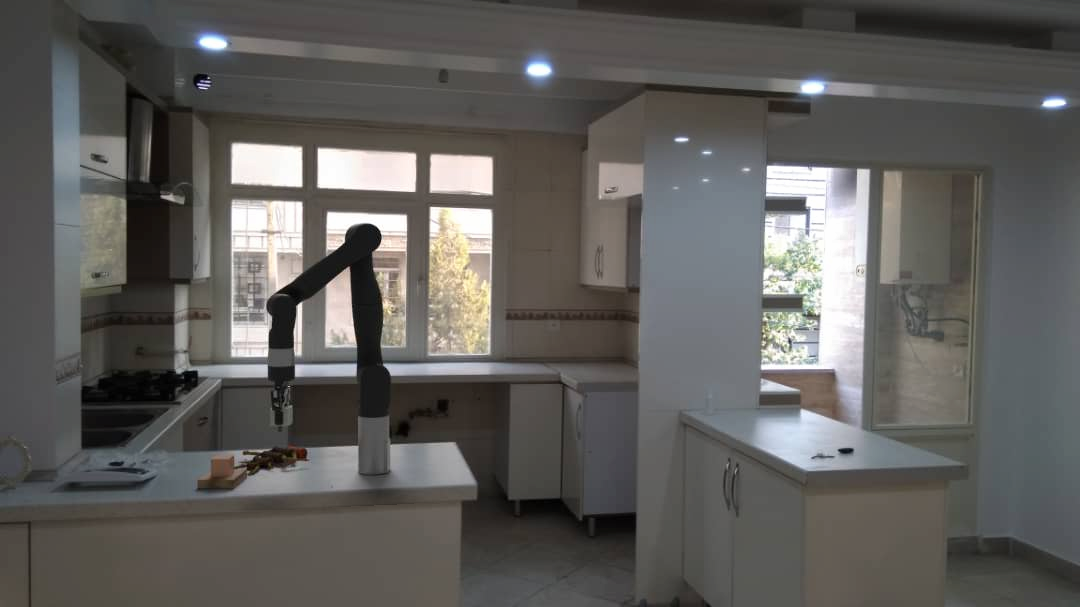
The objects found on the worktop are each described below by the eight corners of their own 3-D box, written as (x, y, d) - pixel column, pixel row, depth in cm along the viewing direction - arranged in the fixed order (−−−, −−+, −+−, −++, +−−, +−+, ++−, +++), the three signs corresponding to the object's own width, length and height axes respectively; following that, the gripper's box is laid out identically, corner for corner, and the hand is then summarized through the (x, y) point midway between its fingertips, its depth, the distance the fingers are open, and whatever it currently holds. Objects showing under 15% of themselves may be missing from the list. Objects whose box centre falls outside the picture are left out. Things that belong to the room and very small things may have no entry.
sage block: (292, 422, 244) (292, 405, 244) (288, 426, 239) (288, 408, 239) (275, 422, 244) (275, 405, 244) (270, 426, 239) (270, 408, 239)
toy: (262, 494, 244) (331, 460, 270) (260, 475, 243) (329, 444, 270) (198, 482, 256) (270, 451, 282) (196, 464, 255) (268, 435, 281)
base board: (246, 477, 248) (246, 469, 248) (233, 488, 236) (233, 479, 236) (212, 477, 248) (212, 469, 247) (197, 488, 236) (197, 479, 235)
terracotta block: (234, 472, 244) (234, 455, 244) (228, 476, 239) (228, 459, 239) (216, 472, 244) (216, 455, 244) (210, 476, 239) (210, 459, 239)
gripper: (288, 367, 234) (288, 427, 234) (300, 361, 248) (300, 418, 249) (260, 366, 233) (261, 427, 234) (274, 360, 248) (275, 418, 248)
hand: (281, 422), depth 241 cm, fingers closed on sage block, 5 cm apart
